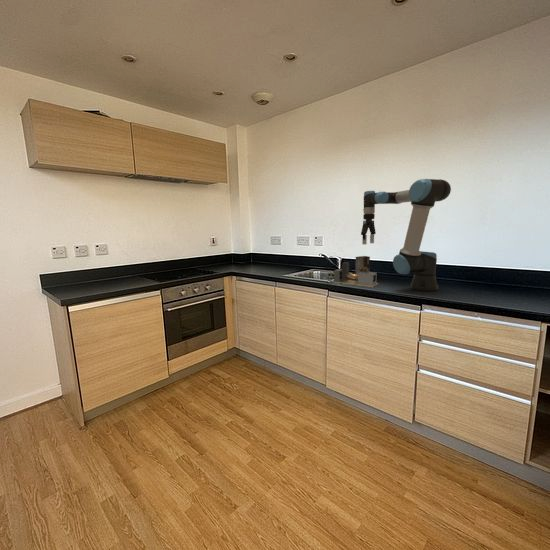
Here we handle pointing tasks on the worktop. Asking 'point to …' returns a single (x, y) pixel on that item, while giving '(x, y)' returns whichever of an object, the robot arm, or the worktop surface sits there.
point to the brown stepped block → (347, 272)
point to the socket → (337, 275)
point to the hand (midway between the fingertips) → (368, 243)
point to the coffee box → (362, 264)
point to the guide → (363, 280)
